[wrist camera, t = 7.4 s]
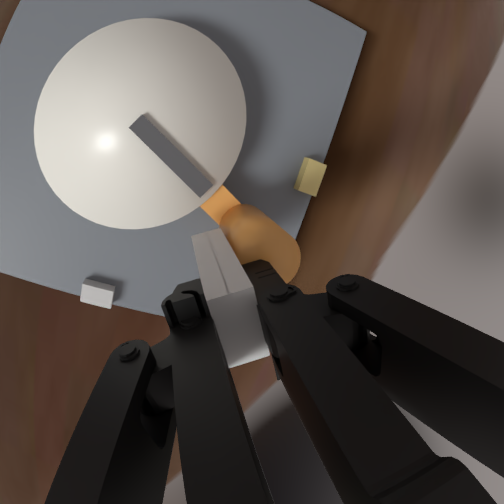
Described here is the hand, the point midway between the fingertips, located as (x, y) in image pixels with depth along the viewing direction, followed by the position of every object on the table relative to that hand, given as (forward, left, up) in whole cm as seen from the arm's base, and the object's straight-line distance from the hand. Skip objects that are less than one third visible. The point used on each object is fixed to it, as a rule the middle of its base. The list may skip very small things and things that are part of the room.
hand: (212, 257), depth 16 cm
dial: (-4, -4, -3) cm, 7 cm away
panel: (-5, -6, -5) cm, 9 cm away
